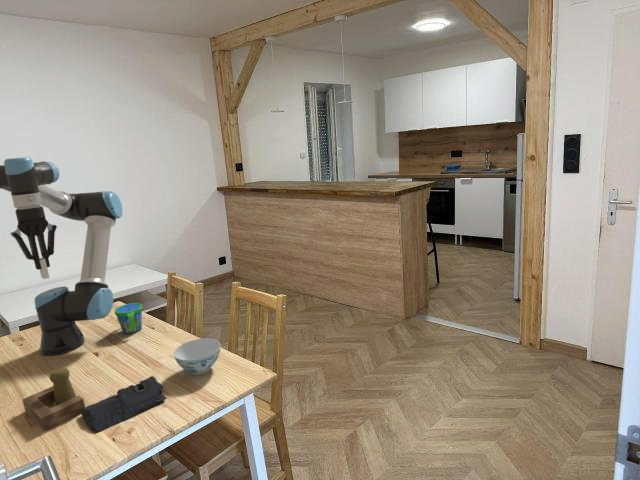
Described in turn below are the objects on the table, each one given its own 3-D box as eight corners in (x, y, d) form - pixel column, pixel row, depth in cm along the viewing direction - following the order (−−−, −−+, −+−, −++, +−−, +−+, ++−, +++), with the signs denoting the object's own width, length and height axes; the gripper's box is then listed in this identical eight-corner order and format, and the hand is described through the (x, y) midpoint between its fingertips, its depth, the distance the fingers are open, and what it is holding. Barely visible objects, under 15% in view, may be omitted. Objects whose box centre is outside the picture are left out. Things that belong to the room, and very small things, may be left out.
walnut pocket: (64, 393, 140) (62, 382, 139) (85, 410, 129) (83, 398, 128) (25, 411, 132) (22, 399, 131) (44, 431, 121) (41, 418, 120)
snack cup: (146, 334, 179) (142, 311, 177) (118, 340, 175) (113, 317, 173) (145, 320, 193) (141, 299, 191) (119, 326, 189) (114, 304, 187)
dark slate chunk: (77, 414, 129) (74, 400, 128) (151, 382, 143) (149, 369, 142) (93, 438, 118) (89, 422, 116) (171, 401, 132) (169, 386, 131)
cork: (57, 411, 130) (49, 377, 128) (52, 403, 135) (44, 370, 132) (79, 401, 134) (72, 369, 132) (74, 394, 139) (66, 362, 136)
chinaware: (168, 372, 147) (164, 351, 146) (207, 354, 158) (204, 334, 156) (192, 387, 137) (189, 364, 135) (232, 366, 148) (229, 345, 146)
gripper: (8, 211, 133) (27, 285, 138) (55, 204, 142) (70, 273, 148) (1, 210, 138) (19, 281, 143) (47, 203, 147) (62, 270, 153)
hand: (45, 277), depth 145 cm, fingers closed
